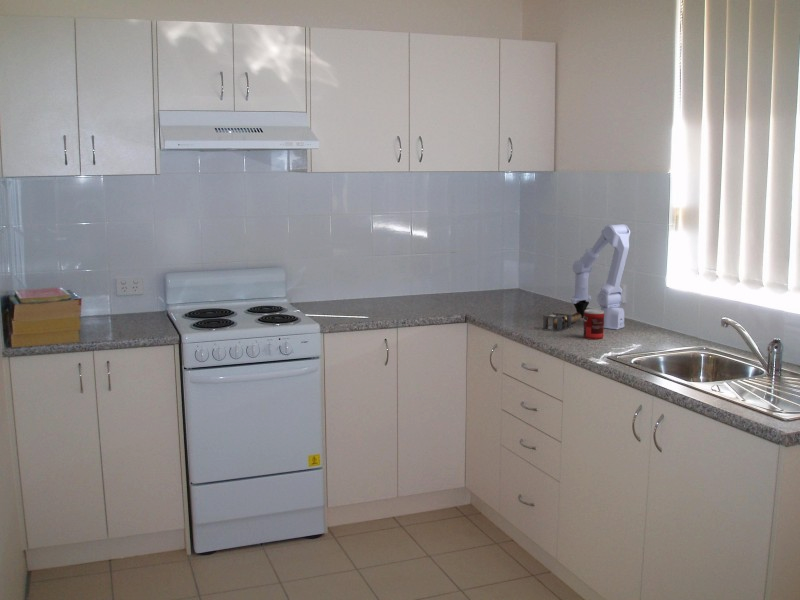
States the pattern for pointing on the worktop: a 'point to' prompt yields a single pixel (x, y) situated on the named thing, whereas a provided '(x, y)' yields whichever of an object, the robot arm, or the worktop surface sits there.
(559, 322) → the firebox
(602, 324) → the canned food
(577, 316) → the tube
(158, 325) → the worktop surface
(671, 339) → the worktop surface
